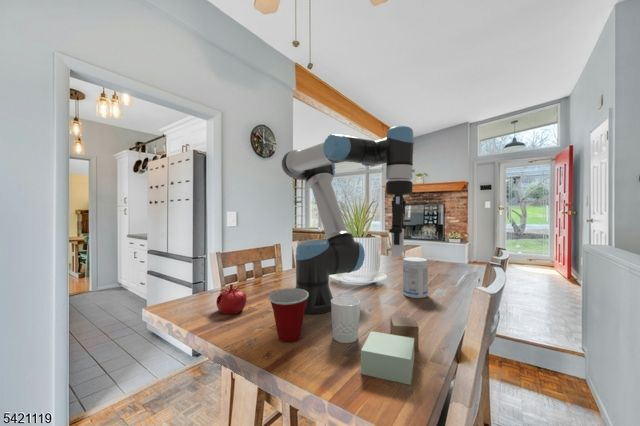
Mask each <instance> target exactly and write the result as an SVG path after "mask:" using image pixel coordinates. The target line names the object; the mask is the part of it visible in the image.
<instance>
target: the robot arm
mask: <svg viewBox="0 0 640 426" xmlns="http://www.w3.org/2000/svg"><path fill="white" fill-rule="evenodd" d="M414 144H415V141H414V130H413V129H412V127H410V126H406V125H405V126H404V125H398V126H392V127H390V128H389V129H387V131H386V137H384V138H382V139H378V140H377V139H376V140H373V139H368V138H361V137H357V136H356V137H355V136H351V135H345V134H343V133H342V134H341V133H339V134H336V133H332V134H329V135H328V136H327V137H326V138H325V140H324V142H322V143H319V144H316V145H312V146H310V147H307V148H304V149H302V150H300V149H293V150H290V151H288V152H287V153H285V154H284V155H283V157H282V159H281V168H282V170H283V172H284V173H285V175H287V176H288V177H290V178H292V179H296V180H304V181H305V182H306V185H307V187H308V188H309V189H311V190H312V193H313V197H314V200H315V204H316V207H317V211H318V214H319V217H320V220H321V224H322V227H323V231H324V233H325V237H326V238H325V239H309V240H306V241H302V242H300V243H299V244H298V245H297V246H296V250H295V288H296V289H302V290H306V291H307V292H308V293H309V297H308V298H307V302H306V306H305V311H304V315H315V314H316V315H318V314H325V313H328V312H331V299H333V298H334V297H333V293H332V291H331V287H330V284H329V283H330V281H329V280H330V277H329V276H333V275H340V274H350V273H353V272H356V271H359V270H360V269H361V267H363V264H364V261H365V258H366V257H365V256H366V255H365V249H364V245H363V244H362V243H361V242H360V241H357V240H355V239H354V236H353V234H352V233H351V232H349V231H348V229H347V227H346V224H345V221H344V217H343V215H342V212H341V208H340V206H339V202H338V200H337V199H338V198H337V196H336V194H335V191H334V187H333V185H332V182H333V180H334V177H335V174H336V170H335V169H336V164H339V163H340V164H341V163H346V162H347V163H356V164H361V165H363V166H365V167H374V166H376V165H383V164H386V167H385V171H386V172H385V180H386V181H387V182H386V183H385V194H386V195H394V196H393V197H392V200H391V214H392V217H391V218H392V219H391V228H389V229H388V230H389V231H388V232H389V233H390V234H391V257H394V258H402V256H403V251H404V244H405V243H404V241H405V240H404V239H405V236H404V235H405V229H407V226H406V225H405V219H404V217H405V216H404V214H405V213H406V207H407V200H405V198H404V195H412V193H413V182H412V180H413V173H415V172H416V170H415V168H414V167H413V165H414V164H413V162H414Z"/></svg>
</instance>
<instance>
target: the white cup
mask: <svg viewBox="0 0 640 426" xmlns="http://www.w3.org/2000/svg"><path fill="white" fill-rule="evenodd" d="M360 310H361V301H360V299H359V298H357V297H353V296H336V297H333V299H331V310H330V313H331V315H330V316H331V326H332V338H333V339H334V341H336V342H338V343H341V344H351V343H355V342H356V341H358V339H359V338H358V337H359V329H360V314H361V311H360Z"/></svg>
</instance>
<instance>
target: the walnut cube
mask: <svg viewBox="0 0 640 426" xmlns="http://www.w3.org/2000/svg"><path fill="white" fill-rule="evenodd" d="M389 320H390V322H389V323H390V327H389V328H390V329H389V330H390V333H389V334H391V335H397V336H403V337H410V338H414V352H416V351H417V352H419V345H420V344H419V342H420V341H419V339H420V338H419V333H420V332H419V325H418V323H417V321H416V319H415V317H412V316H411V317H409V316H390V319H389Z"/></svg>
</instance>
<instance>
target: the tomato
mask: <svg viewBox="0 0 640 426" xmlns="http://www.w3.org/2000/svg"><path fill="white" fill-rule="evenodd" d="M225 288H227V289H221V290H220V291H219V292H220V294H219V295H218V296H217V298H216V301H215V302H216V307H217V310H218V311H219V312H220V313H221V314H223V315H234V314H238V313H240V312H241V311H243V309H244V308H245V307H246V305H247V301H248V300H247V299H248V297H247V294H246V293H245V292H244V291H241V290H242V289H244V288H242V287H240V286H238V287H236V286H234V284H233V283H232V284H229V287H228V286H227V287H225ZM239 289H241V290H239Z"/></svg>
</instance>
